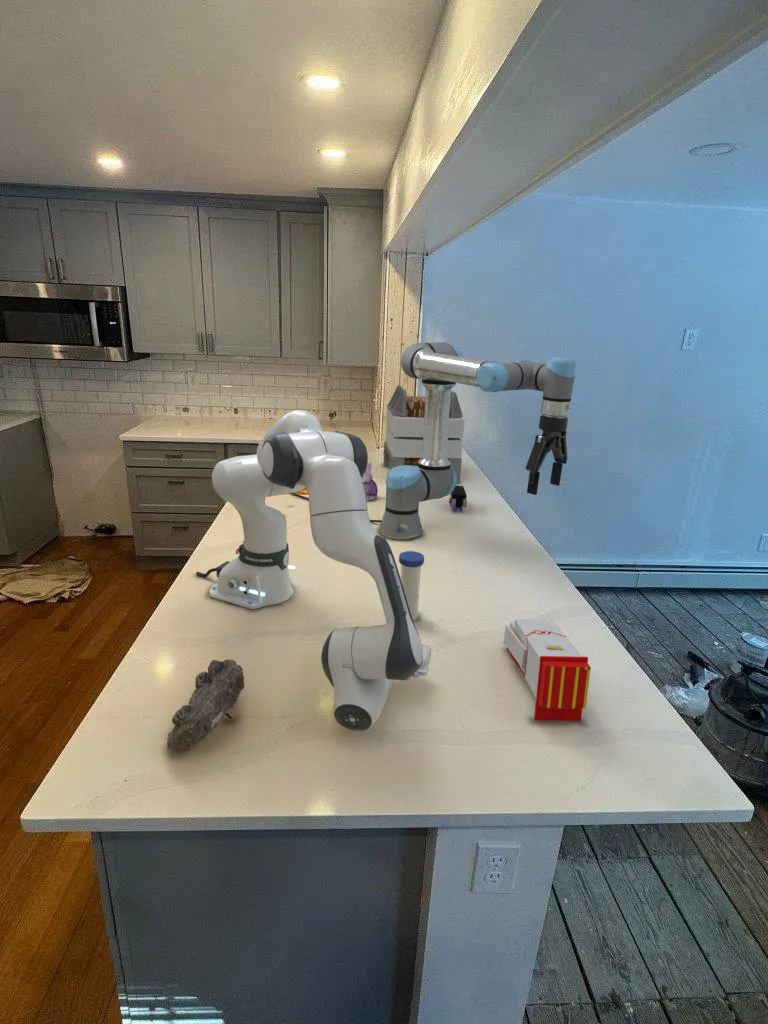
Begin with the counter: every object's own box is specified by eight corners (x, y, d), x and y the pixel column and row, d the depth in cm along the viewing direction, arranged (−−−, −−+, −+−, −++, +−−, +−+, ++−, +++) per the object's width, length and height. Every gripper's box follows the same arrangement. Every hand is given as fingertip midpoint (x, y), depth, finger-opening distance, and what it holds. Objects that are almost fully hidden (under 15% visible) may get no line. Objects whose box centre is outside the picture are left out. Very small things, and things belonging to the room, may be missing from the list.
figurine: (362, 503, 229) (363, 467, 224) (351, 495, 238) (352, 460, 232) (383, 500, 233) (384, 465, 228) (372, 493, 242) (373, 459, 237)
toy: (549, 604, 136) (599, 663, 106) (544, 656, 138) (591, 727, 109) (499, 603, 135) (535, 662, 106) (495, 655, 138) (529, 726, 109)
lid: (427, 559, 143) (427, 553, 143) (419, 569, 138) (419, 563, 137) (403, 555, 145) (404, 549, 145) (395, 564, 140) (395, 558, 139)
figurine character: (467, 516, 223) (461, 500, 237) (469, 499, 220) (463, 483, 233) (450, 516, 223) (446, 499, 236) (452, 498, 220) (447, 483, 233)
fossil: (192, 660, 117) (244, 628, 112) (224, 691, 120) (276, 661, 115) (142, 746, 98) (202, 712, 93) (182, 779, 101) (242, 748, 96)
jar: (420, 613, 148) (424, 555, 142) (413, 623, 144) (417, 563, 138) (402, 609, 150) (405, 552, 144) (395, 618, 145) (398, 559, 140)
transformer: (382, 463, 289) (386, 382, 275) (445, 464, 293) (451, 384, 279) (390, 482, 257) (394, 392, 243) (460, 483, 261) (468, 394, 247)
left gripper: (426, 664, 112) (437, 628, 124) (328, 646, 116) (349, 613, 129) (424, 691, 114) (435, 653, 127) (328, 672, 118) (348, 637, 131)
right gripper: (544, 422, 145) (533, 501, 153) (586, 413, 163) (575, 483, 170) (519, 418, 150) (509, 494, 157) (562, 409, 168) (552, 478, 175)
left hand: (391, 633), depth 128 cm, fingers open, 8 cm apart
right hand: (543, 489), depth 164 cm, fingers open, 13 cm apart
